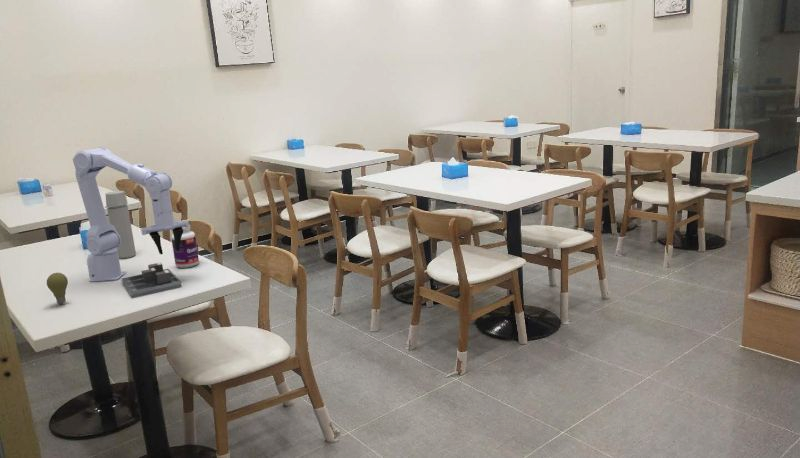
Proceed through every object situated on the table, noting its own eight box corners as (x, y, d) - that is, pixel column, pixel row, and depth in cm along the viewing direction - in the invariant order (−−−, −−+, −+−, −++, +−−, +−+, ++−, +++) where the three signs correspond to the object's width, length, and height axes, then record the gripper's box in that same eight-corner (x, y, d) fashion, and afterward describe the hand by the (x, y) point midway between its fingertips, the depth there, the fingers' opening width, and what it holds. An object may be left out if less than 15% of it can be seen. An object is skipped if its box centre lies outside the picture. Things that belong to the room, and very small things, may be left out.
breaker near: (158, 287, 193) (156, 274, 192) (157, 284, 195) (155, 272, 194) (172, 284, 195) (170, 271, 194) (169, 281, 197) (167, 269, 196)
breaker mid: (145, 284, 196) (143, 272, 195) (143, 282, 198) (141, 270, 197) (158, 281, 198) (156, 269, 197) (156, 279, 200) (154, 267, 199)
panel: (131, 298, 187) (130, 292, 187) (122, 284, 201) (121, 278, 201) (181, 286, 195) (180, 281, 195) (169, 274, 209) (168, 268, 209)
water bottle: (141, 254, 235) (130, 191, 229) (122, 260, 228) (110, 195, 222) (126, 252, 240) (115, 189, 233) (108, 257, 233) (96, 193, 227)
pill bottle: (191, 269, 213) (186, 229, 210) (171, 268, 215) (165, 229, 211) (203, 262, 221) (198, 223, 217) (183, 261, 222) (177, 223, 219)
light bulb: (56, 301, 188) (50, 270, 186) (75, 300, 189) (69, 269, 186) (48, 308, 183) (41, 276, 180) (67, 306, 183) (60, 275, 181)
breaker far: (151, 278, 202) (149, 266, 201) (149, 276, 204) (147, 264, 203) (164, 275, 204) (162, 263, 203) (162, 273, 206) (160, 261, 205)
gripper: (141, 217, 189) (148, 259, 192) (189, 209, 196) (195, 250, 200) (137, 213, 195) (144, 254, 198) (183, 206, 202) (189, 245, 206)
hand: (169, 252), depth 199 cm, fingers open, 5 cm apart
